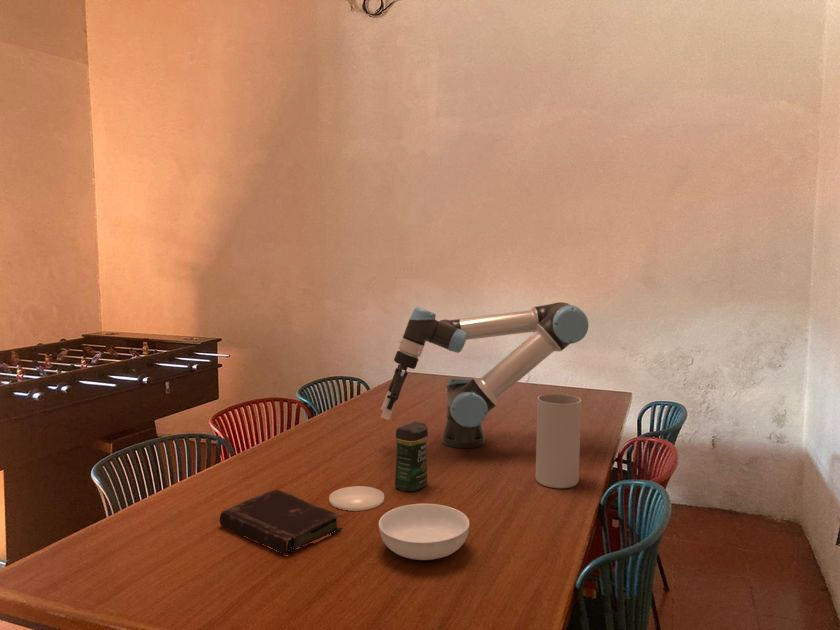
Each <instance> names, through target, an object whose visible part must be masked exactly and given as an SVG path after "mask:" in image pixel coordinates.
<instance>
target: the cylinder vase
mask: <svg viewBox="0 0 840 630" xmlns="http://www.w3.org/2000/svg"><path fill="white" fill-rule="evenodd" d="M536 405H537V406H536V407H537V408H536V409H537V410H536V439H535V441H536V443H535V445H536V447H535V480H536V482H537V483H539V484H540V485H542V486H544V487H548V488H552V489H570V488H573V487H576V486H577V485H578V483H579V482H580V481H579V479H580V478H579V477H580V451H581V449H580V448H581V447H580V446H581V422H582V421H581V419H582V416H581V415H582V398H580V397H578V396H576V395H575V396H574V395H572V394H571V395H570V394H566V393H565V394H564V393H563V394H562V393H548V394H541V395H538V396H537V404H536Z"/></svg>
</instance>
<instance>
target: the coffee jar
mask: <svg viewBox="0 0 840 630" xmlns="http://www.w3.org/2000/svg"><path fill="white" fill-rule="evenodd" d="M428 429H429V428H428V426H427V425H426V424H425V423H423V422H420V421H412V422H410V423H407V424H404V425H402V426H399V427H397V428H396V430H395V444H396V461H395V462H396V463H395V464H396V466H395V472H394V473H395V474H394V475H395V476H394V477H395V479H394V487H396V488H397V489H399V490H400V491H403V492H406V491H407V492H408V491H409V492H416V491H418V490H420V489H422V488H423V487H425V486H427V484H428V467H427V443H428V439H429V433H428Z"/></svg>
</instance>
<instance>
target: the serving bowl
mask: <svg viewBox="0 0 840 630" xmlns="http://www.w3.org/2000/svg"><path fill="white" fill-rule="evenodd" d="M378 531H379V535H380V538H381V539H382V541H383V543H384V544H385V546H386V547H387V548H388V549H389V550H391V552H393V553H395V554H397V555H398V556H400V557H403V558H406V559H410V560H418V561H432V560H436V559H441V558H445V557H448V556H450V555H452V554H453V553H455V552H456V551H458V550H459V549H460V548H461V547H462V546H463V545H464V543H465V542H466V540H467V538H468V536H469V535H468V534H469V531H470V519H469V517H468V516H467V515H466V514H465V513H463V512H462V511H460V509H459V510H458V509H456V508H453V507H451V506H447V505H443V504H438V503H414V504H406V505H402V506H398V507H394V508H393V509H390V510H389V511H387V512H385V513H384V514H383V515H382V516H381V517H380V519H379V520H378Z"/></svg>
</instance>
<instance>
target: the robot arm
mask: <svg viewBox="0 0 840 630" xmlns="http://www.w3.org/2000/svg"><path fill="white" fill-rule="evenodd" d="M436 317H437V316H436V313H434V312H432V311H429V310H426V309H425V308H422V307H419V306H417V307H414V308H413V311H412V313H411V316H410V317H409V319H408V323H407V325H406V327H405V329H404V333H403V335H402V339H399V340H398V343H400V344H399V346H398V350H397V351H396V353H395V355H394V358H393V362H395V363H396V364H398V365H397V367H396V368H395V370H394V371H393V372H394V373H393V376H392V380H391V382H390V385H389V386H388V389H387V390H388V391H387V392H386V395H385V397H384V400H383V403H382V406H381V408H380V410H381V411H382V413H381V416H380V418H381V419H385V420H387V421H389V420H390V419H391V416H392V413H393V411H394V408H395V406H396V403H397V401H398V399H399V397H400V393H401V391H402V388H403V385H404V383H405V380H406V378H407V376H408V370H407V369H408V368H409V369H412V370H413V369H414V370H415V369H416V367H417V365H418V362H419V358H420V357H421V356H422V353H423V350H424V347H425V344H426V342H427V343H430V344H433V345H435V346H438V347H441V348H443V349H445V350H447V351H449V352H454V353H457V354H459V353H460V352H462V351H463V349H464V347H465V344H466V342H467V340H477V339H478V340H479V339H485V338H493V337H501V336H508V335H509V336H511V335H517V334H526V333H527V334H528V333H532V335H530V336H529V337H528V338H526V339H525V340H524V341H523V342H522V343H521V344H519V345H518V346H517V347H516V348H514V350H512V351H511V352H510V353H509V354H508V355H507V356H505V357H504V358H503V359H502V360H500V361H499V362H498V363H497V364H496V365H494V367H492V368H491V369H490V370H489V371H487V372H486V373H485V374H484V375H482V376H481V377H480V378H479V377H467V376H466V377H465V376H464V377H463V376H461V377H460V376H459V377H458V376H457V377H450V378H448V379H447V381H446V383H447V384H446V388H447V389H446V391H447V392H446V402H447V403H446V422H445V424H444V428H443V431H442V434H441V443H442V444H444V445H445V446H446V447H451V448H456V449H457V448H458V449H475V448H478V447H481V446H483V445H484V444H485V443H486V442H485V441H486V440H485V439H486V438H485V437H486V436H485V432H484V430H483V426H482V423H483V422H484V421H485V420H486V418H487V416H488V413H490V412H491V411H492V410H493V409H494V408H496V407H497V405H498V399H499V398H500V397H502V396H503V394H505V393H506V392H507V391H509V390H510V389H511V388H512V387H513V386H515V385H516V383H518V382H519V381H520V380H522V378H524V377H525V376H526V375H528V374H529V373H530V372H531V371H532V370H534V369H535V368H536V367H537V366H539V365H540V364H541V363H542V362H543V361H544V360H545V359H546V358H548V357H549V356H550V355H551V354H553V353H554V352H562V351H563V350H565V349H566V348H567V347H568V346H570V345H571V344H575V343H578V342H580V341H582V340H583V339H584V338H585V336H586V335H587V333H588V329H589V321H588V317H587V315H586V313H585V312H584V311H583V310H582V309H580V307H578V306H576V305H572V304H570V303H567V302H554V303H553V302H552V303H550V304H544V305H539V306H533V307H531V309H530V310H523V311H513V312H505V313H498V314H489V315H481V316H475V317H473V316H472V317H465V318H457V319H456V318H455V319H444V318H443V319H440V320H437V319H436Z"/></svg>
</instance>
